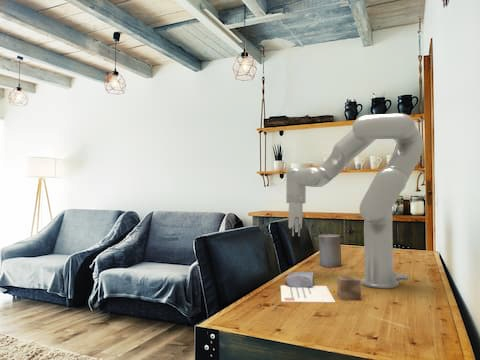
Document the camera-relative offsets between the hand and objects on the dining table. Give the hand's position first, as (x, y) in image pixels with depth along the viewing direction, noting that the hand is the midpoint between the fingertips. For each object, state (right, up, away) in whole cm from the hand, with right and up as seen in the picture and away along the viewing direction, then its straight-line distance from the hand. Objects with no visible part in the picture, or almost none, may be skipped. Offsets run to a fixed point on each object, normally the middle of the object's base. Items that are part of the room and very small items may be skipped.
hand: (295, 246), depth 146 cm
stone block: (0, -12, -12) cm, 17 cm away
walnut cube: (+12, -11, -30) cm, 34 cm away
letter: (-1, -11, -25) cm, 27 cm away
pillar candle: (+19, -13, +23) cm, 32 cm away
